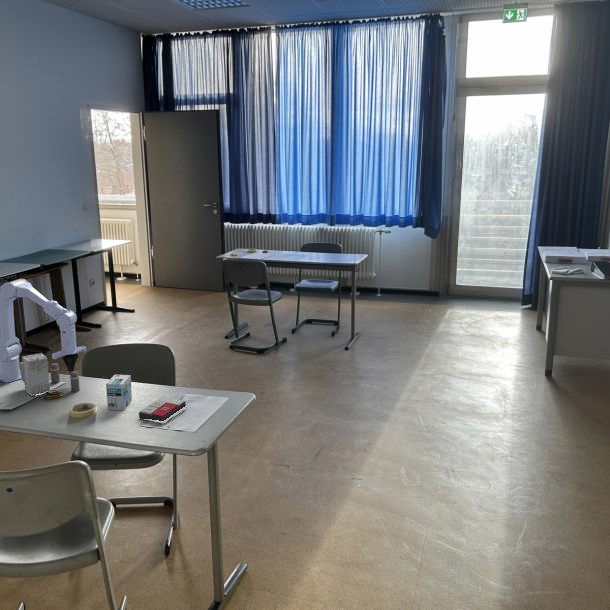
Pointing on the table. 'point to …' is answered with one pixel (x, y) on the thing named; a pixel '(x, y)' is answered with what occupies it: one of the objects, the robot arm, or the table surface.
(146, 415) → the red black flat box
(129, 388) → the light bulb box
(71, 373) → the post
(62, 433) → the table surface
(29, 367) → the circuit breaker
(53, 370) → the left cable post
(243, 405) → the table surface
